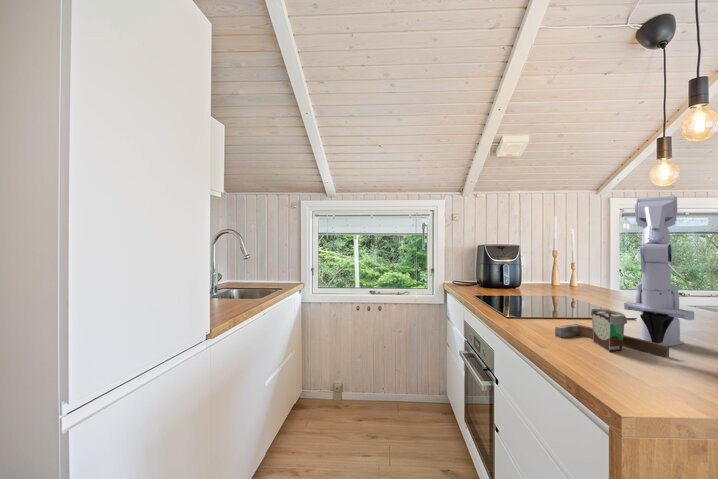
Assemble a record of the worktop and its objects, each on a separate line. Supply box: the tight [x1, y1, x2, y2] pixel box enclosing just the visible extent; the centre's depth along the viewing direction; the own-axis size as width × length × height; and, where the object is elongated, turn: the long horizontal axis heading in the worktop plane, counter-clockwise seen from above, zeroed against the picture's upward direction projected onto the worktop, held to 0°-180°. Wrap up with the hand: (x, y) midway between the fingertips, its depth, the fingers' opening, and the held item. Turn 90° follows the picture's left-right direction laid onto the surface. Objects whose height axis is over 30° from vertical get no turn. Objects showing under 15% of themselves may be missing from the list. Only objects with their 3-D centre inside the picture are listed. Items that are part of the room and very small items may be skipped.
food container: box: [590, 308, 628, 353], centre depth 99 cm, size 12×6×10 cm, turn 168°
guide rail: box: [554, 323, 670, 359], centre depth 101 cm, size 10×26×3 cm, turn 21°
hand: (657, 342), depth 89 cm, fingers closed
